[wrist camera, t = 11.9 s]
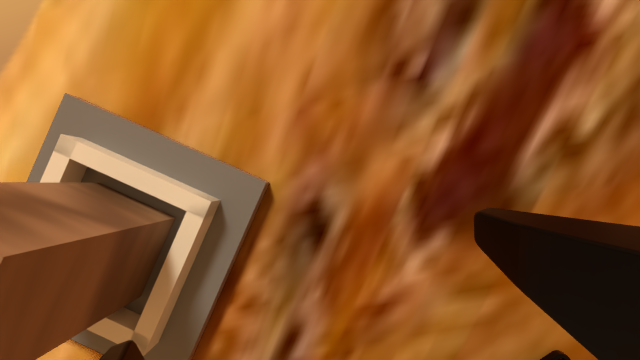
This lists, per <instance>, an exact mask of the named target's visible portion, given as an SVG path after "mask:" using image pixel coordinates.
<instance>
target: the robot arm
mask: <svg viewBox="0 0 640 360" xmlns="http://www.w3.org/2000/svg"><path fill="white" fill-rule="evenodd" d="M474 237H475V241H476V243H477V245H478V246H479V247H480V248H481V250H482V251H483V252H484V253H485V254H486V255H487V256H488V257H489V258H490V259H491V260H492V261H493V262H494V263H495V264H496V265H497V267H498V268H499V269H500V270H501V271H502V272H503V273H504V274H505V275H506V276H507V277H508V278H509V279H510V280H511V281H512V282H513V283H514V284H515V285H516V286H517V287H518V288H519V289H520V290H521V291H522V292H523V293H524V294H525V295H526V296H527V297H528V298H530V299H531V300H532V301H533V302H534V303H535V304H536V305H537V306H539V307H540V308H541V309H542V310H543V311H544V312H545V313H546V314H548V315H549V316H550V317H551V318H552V319H553V320H554V321H555V322H557V323H558V324H559V325H560V326H561V327H562V328H563V329H564V330H566V331H567V332H568V333H569V334H570V335H571V336H572V337H573V338H575V339H576V340H577V341H578V342H579V343H580V344H581V345H582V346H584V347H585V348H586V349H587V350H588V351H589V352H590V353H591V354H593V355H594V356H595V357H596V358H597V359H598V360H640V227H639V226H631V225H623V224H615V223H607V222H599V221H591V220H583V219H575V218H568V217H560V216H552V215H544V214H536V213H528V212H520V211H512V210H505V209H497V208H486V209H483V210H480V211H478V212H476V213H475V215H474ZM560 358H562V359H561V360H570V358H569V357H568V356H567V355H566V354H564V353H563V352H561V351H559V350H555V351H552V352H551V353H549V354H548V355H546V356H545V357H543V358H542V359H540V360H559V359H560ZM99 360H145V359H144V357H143V355H142V353H141V352H140V350H139V348H138V346H137V344H136V343H135V342H134V341H133V340H127V341H125V342H122V343H119V344H116V345H114V346H112V347H110V348H109V349H108V351H107V352H106V353H105V354H104V355H103V356H102V357H101V358H100V359H99Z"/></svg>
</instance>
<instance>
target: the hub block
mask: <svg viewBox="0 0 640 360" xmlns="http://www.w3.org/2000/svg"><path fill="white" fill-rule="evenodd" d="M175 219H176V218H175V217H173V216H171V215H169V214H166V213H164V212H162V211H160V210H158V209H156V208H153V207H151V206H149V205H147V204H145V203H142V202H140V201H138V200H136V199H134V198H132V197H129V196H127V195H125V194H123V193H121V192H119V191H116V190H114V189H112V188H110V187H108V186H106V185H103V184H101V183H0V360H35V359H37V358H39V357H41V356H42V355H44V354H46V353H47V352H49V351H51V350H52V349H54V348H56V347H57V346H59V345H61V344H62V343H64V342H66V341H67V340H69V339H71V338H72V337H74V336H76V335H77V334H79V333H81V332H82V331H84V330H86V329H87V328H89V327H91V326H92V325H94V324H96V323H97V322H99V321H101V320H102V319H104V318H106V317H107V316H109V315H111V314H112V313H114V312H116V311H117V310H119V309H121V308H122V307H124V306H126V305H127V304H129V303H131V302H132V301H134V300H136V299H137V298H139V297H141V295H142V293H143V290H144V288H145V286H146V284H147V281H148V279H149V277H150V275H151V272H152V270H153V268H154V266H155V263H156V261H157V259H158V257H159V254H160V252H161V250H162V248H163V245H164V243H165V241H166V239H167V237H168V234H169V232H170V230H171V228H172V225H173V223H174V221H175Z"/></svg>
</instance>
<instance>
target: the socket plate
mask: <svg viewBox="0 0 640 360" xmlns="http://www.w3.org/2000/svg"><path fill="white" fill-rule="evenodd" d="M26 183H101V184H103V185H106V186H108V187H110V188H112V189H114V190H116V191H119V192H121V193H123V194H125V195H127V196H129V197H132V198H134V199H136V200H138V201H140V202H142V203H145V204H147V205H149V206H151V207H153V208H156V209H158V210H160V211H162V212H164V213H166V214H169V215H171V216H173V217H175V218H176V219H175V221H174V223H173V225H172V228H171V230H170V232H169V234H168V237H167V239H166V241H165V243H164V245H163V248H162V250H161V252H160V254H159V257H158V259H157V261H156V263H155V266H154V268H153V270H152V272H151V275H150V277H149V279H148V281H147V284H146V286H145V288H144V290H143V293H142V295H141V297H139V298H137V299H136V300H134V301H132V302H131V303H129V304H127V305H126V306H124V307H122V308H121V309H119V310H117V311H116V312H114V313H112V314H111V315H109V316H107V317H106V318H104V319H102V320H101V321H99V322H97V323H96V324H94V325H92V326H91V327H89V328H87V329H86V330H84V331H82V332H81V333H79V334H77V335H76V336H74V337H72V338H71V339H72V340H74V341H76V342H78V343H80V344H82V345H84V346H86V347H89V348H91V349H93V350H95V351H97V352H99V353H101V354H103V355H104V354H105V353H106V352H107V351H108V349H109V348H110V347H112V346H114V345H116V344H119V343H122V342H125V341H127V340H133V341H134V342H135V343H136V344H137V346H138V348H139V350H140V352H141V353H142V355H143V357H144V359H145V360H192V357H193V355H194V353H195V351H196V348H197V346H198V344H199V341H200V339H201V337H202V335H203V332H204V330H205V328H206V326H207V323H208V321H209V319H210V316H211V314H212V312H213V310H214V307H215V305H216V303H217V301H218V298H219V296H220V294H221V291H222V289H223V287H224V285H225V282H226V280H227V278H228V276H229V273H230V271H231V269H232V266H233V264H234V262H235V260H236V257H237V255H238V253H239V251H240V248H241V246H242V244H243V241H244V239H245V237H246V235H247V232H248V230H249V228H250V226H251V223H252V221H253V219H254V216H255V214H256V212H257V210H258V207H259V205H260V203H261V201H262V198H263V196H264V194H265V191H266V189H267V187H268V185H269V182H268V181H265V180H263V179H261V178H259V177H256V176H254V175H252V174H250V173H247V172H245V171H243V170H241V169H238V168H236V167H234V166H232V165H229V164H227V163H225V162H223V161H220V160H218V159H216V158H213V157H211V156H209V155H207V154H204V153H202V152H200V151H198V150H195V149H193V148H191V147H189V146H186V145H184V144H182V143H180V142H177V141H175V140H173V139H171V138H168V137H166V136H164V135H162V134H159V133H157V132H155V131H153V130H150V129H148V128H146V127H144V126H141V125H139V124H137V123H135V122H132V121H130V120H128V119H126V118H123V117H121V116H119V115H117V114H114V113H112V112H110V111H108V110H105V109H103V108H101V107H99V106H96V105H94V104H92V103H90V102H87V101H85V100H83V99H81V98H78V97H75V96H72V95H69V94H67V93H65V95H64V97H63V99H62V101H61V104H60V106H59V108H58V111H57V113H56V115H55V118H54V120H53V122H52V124H51V127H50V129H49V131H48V134H47V136H46V138H45V141H44V143H43V145H42V147H41V150H40V152H39V154H38V157H37V159H36V161H35V164H34V166H33V168H32V170H31V173H30V175H29V177H28V180H27V182H26Z"/></svg>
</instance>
